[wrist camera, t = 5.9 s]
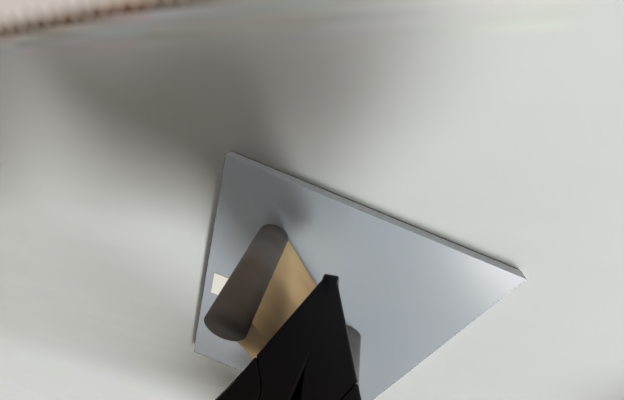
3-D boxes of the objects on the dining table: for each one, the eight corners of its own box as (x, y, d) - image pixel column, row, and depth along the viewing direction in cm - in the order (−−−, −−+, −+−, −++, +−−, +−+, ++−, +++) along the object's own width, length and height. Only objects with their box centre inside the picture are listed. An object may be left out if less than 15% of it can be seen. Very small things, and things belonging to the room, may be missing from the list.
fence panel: (339, 319, 12) (326, 422, 8) (316, 322, 12) (295, 421, 9) (278, 220, 9) (230, 309, 6) (252, 228, 10) (195, 314, 7)
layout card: (352, 409, 17) (351, 416, 17) (197, 345, 17) (193, 352, 17) (520, 270, 9) (526, 279, 9) (230, 151, 9) (225, 155, 9)
